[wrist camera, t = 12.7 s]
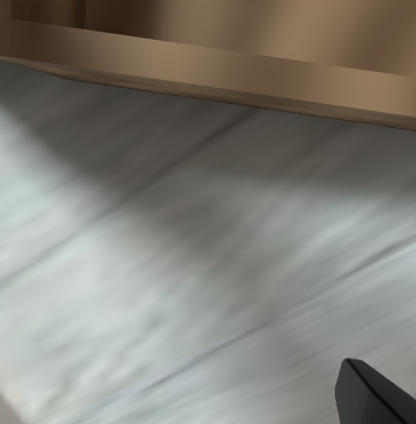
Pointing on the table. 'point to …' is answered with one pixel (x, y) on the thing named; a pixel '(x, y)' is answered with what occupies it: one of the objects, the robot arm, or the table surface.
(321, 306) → the table surface
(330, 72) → the crate
